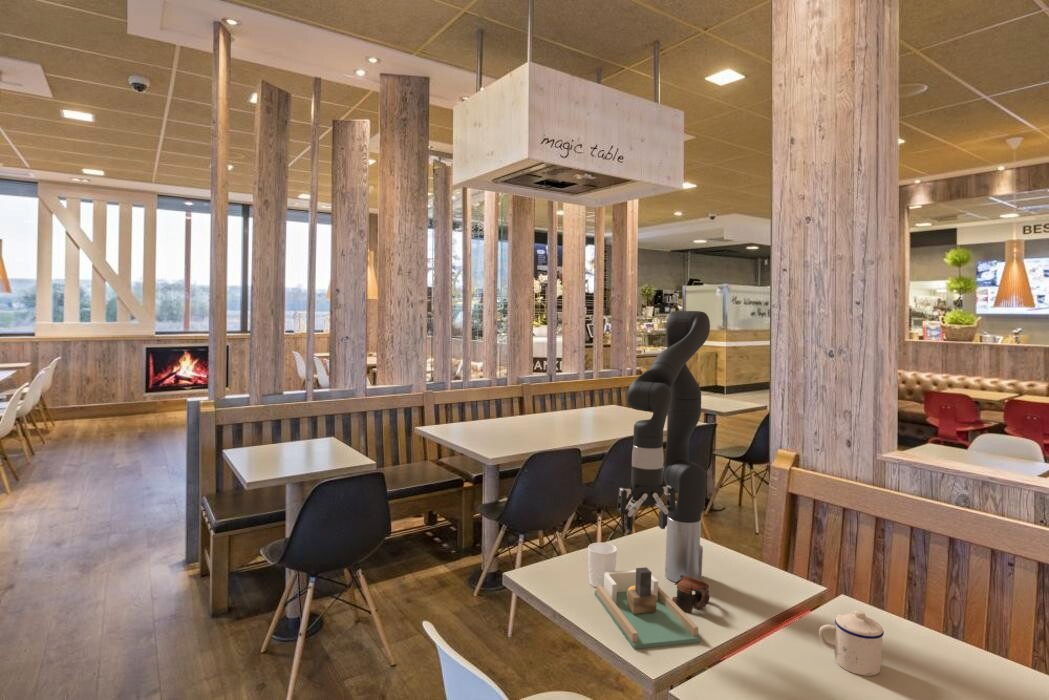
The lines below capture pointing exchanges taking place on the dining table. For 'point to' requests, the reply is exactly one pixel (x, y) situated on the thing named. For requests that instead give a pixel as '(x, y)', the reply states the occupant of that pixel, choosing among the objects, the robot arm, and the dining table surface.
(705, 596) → the pottery mug
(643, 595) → the striker
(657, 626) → the pitch
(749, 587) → the dining table surface
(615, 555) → the white cup
